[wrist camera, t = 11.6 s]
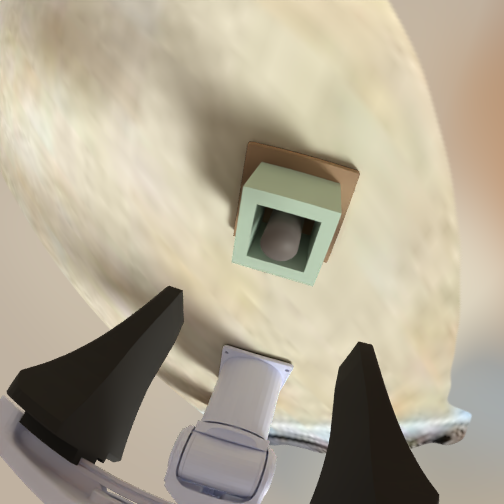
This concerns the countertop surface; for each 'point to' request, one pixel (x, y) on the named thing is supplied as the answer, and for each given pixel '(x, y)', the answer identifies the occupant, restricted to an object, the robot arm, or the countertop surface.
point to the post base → (304, 167)
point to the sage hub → (291, 201)
